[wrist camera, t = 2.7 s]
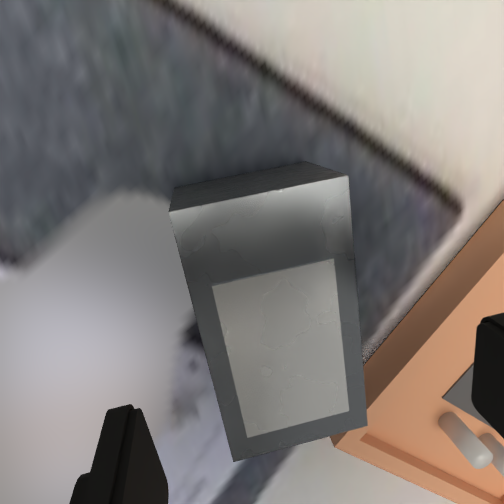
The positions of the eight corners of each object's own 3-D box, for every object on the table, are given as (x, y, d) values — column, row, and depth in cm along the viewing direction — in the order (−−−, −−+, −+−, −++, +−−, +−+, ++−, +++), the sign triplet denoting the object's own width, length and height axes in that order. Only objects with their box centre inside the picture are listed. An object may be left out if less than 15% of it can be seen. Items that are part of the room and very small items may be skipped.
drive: (328, 357, 21) (368, 427, 16) (223, 383, 20) (233, 464, 16) (304, 161, 17) (349, 175, 12) (174, 186, 16) (168, 213, 12)
